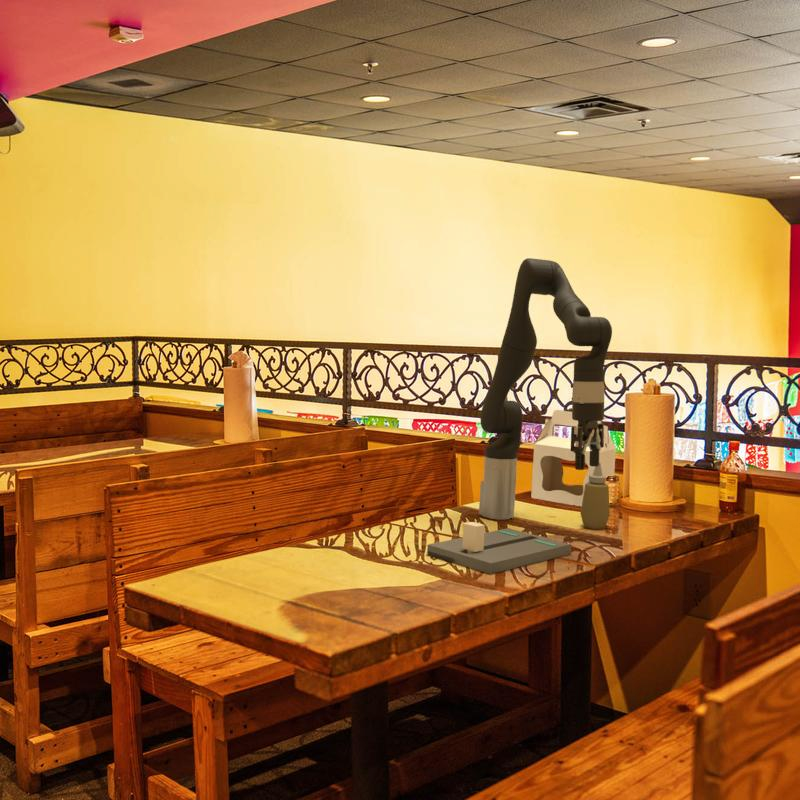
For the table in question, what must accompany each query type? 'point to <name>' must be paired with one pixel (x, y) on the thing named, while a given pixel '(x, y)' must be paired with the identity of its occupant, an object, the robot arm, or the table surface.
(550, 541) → the panel
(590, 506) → the squeeze bottle
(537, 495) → the gable box
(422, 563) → the table surface
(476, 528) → the fader tab
